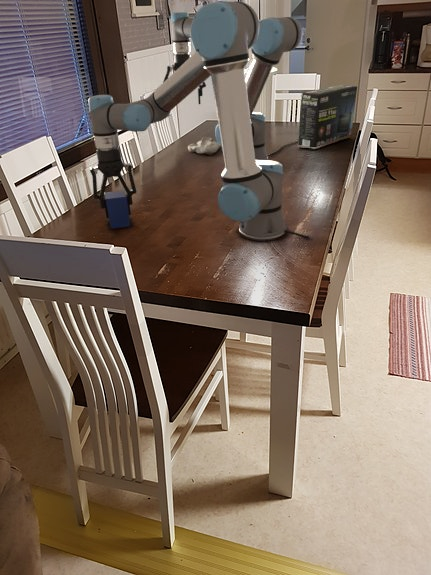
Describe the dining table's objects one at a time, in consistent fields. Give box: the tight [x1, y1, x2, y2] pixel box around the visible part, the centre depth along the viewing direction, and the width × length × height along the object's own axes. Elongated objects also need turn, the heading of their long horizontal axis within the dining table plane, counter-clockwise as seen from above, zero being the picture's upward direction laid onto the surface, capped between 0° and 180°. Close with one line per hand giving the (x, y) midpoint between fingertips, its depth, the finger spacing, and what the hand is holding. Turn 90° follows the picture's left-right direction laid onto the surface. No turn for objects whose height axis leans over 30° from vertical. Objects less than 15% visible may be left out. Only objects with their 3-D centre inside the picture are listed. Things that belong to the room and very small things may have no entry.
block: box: [104, 189, 132, 230], centre depth 157 cm, size 7×7×11 cm
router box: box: [297, 84, 358, 151], centre depth 238 cm, size 36×11×27 cm, turn 134°
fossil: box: [187, 135, 222, 156], centre depth 238 cm, size 18×11×15 cm
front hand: (118, 215), depth 158 cm, fingers closed on block, 7 cm apart
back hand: (184, 104), depth 212 cm, fingers open, 13 cm apart
